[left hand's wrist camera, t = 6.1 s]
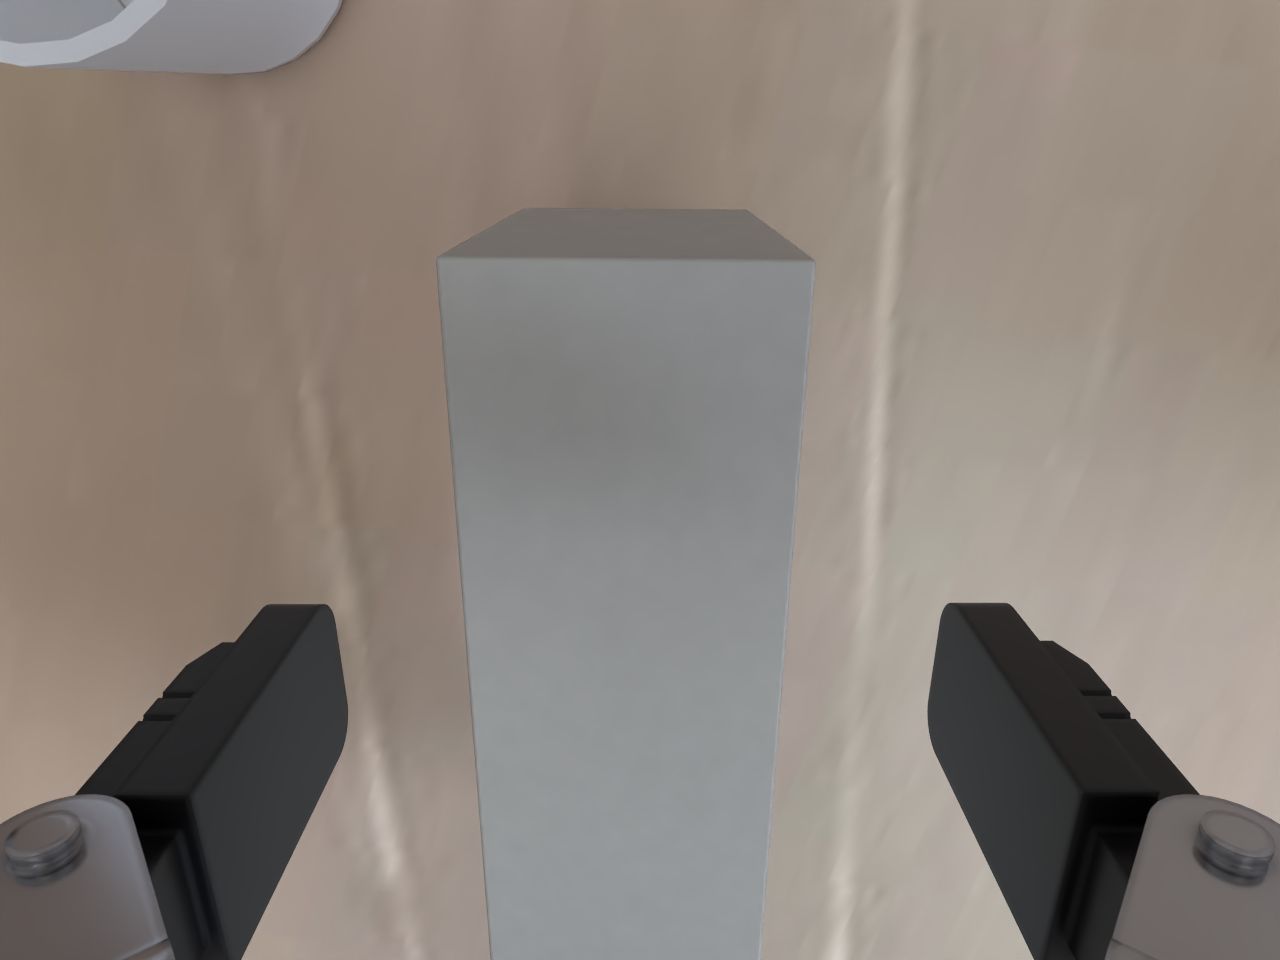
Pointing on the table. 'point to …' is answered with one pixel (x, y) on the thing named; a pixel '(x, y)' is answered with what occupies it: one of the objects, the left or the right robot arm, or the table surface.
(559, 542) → the bar
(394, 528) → the table surface
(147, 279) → the table surface
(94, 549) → the table surface
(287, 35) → the mug
